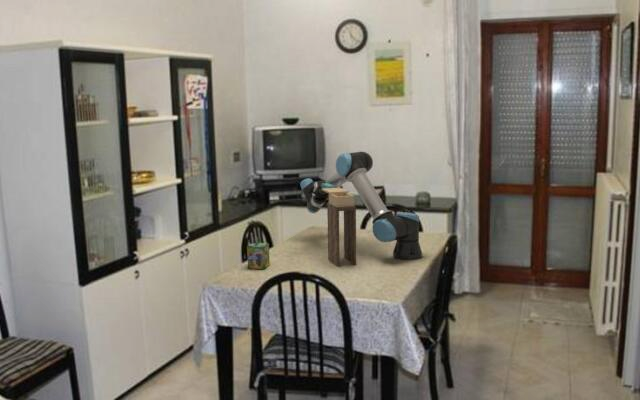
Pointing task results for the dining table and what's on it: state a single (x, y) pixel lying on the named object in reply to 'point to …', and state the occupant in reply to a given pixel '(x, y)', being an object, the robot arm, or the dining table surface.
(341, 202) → the kraft mailer box
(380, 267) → the dining table surface
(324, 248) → the dining table surface
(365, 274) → the dining table surface
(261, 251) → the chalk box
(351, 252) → the walnut stand
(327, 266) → the dining table surface
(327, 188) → the mailer lid
